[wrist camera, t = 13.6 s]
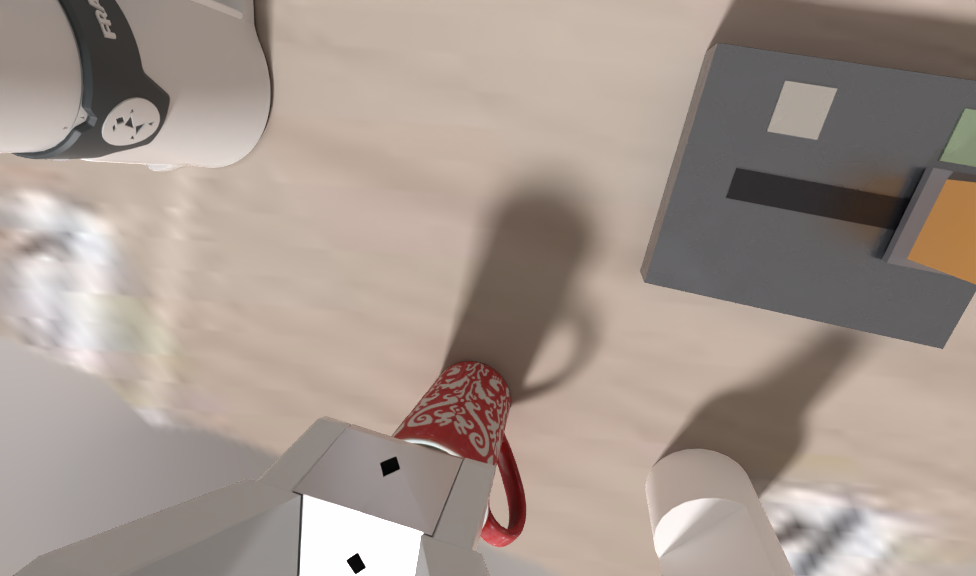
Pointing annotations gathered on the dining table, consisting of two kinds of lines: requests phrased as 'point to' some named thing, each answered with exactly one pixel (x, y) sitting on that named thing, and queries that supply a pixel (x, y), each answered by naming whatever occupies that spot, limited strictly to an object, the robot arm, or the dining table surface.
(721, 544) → the cylinder with rectangular tab
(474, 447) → the mug
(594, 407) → the dining table surface
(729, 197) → the grey slotted base
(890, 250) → the handle
